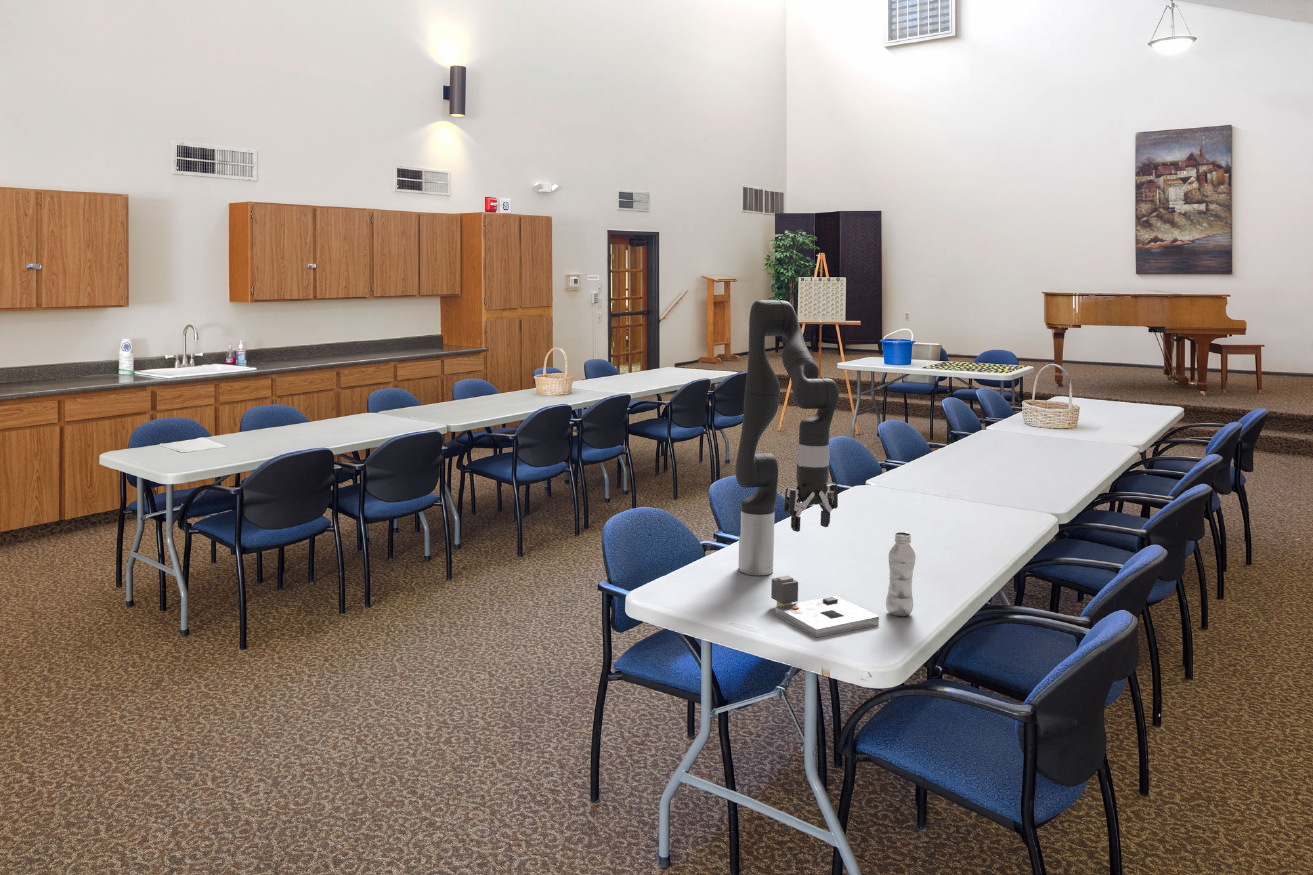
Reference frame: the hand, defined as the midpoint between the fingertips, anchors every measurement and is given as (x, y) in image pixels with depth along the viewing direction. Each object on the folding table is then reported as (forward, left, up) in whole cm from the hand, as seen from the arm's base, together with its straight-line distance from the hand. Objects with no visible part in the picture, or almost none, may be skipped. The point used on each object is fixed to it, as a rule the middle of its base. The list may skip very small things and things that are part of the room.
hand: (810, 528), depth 213 cm
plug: (-5, -4, -21) cm, 22 cm away
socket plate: (+7, 0, -21) cm, 22 cm away
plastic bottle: (+12, +18, -21) cm, 30 cm away
